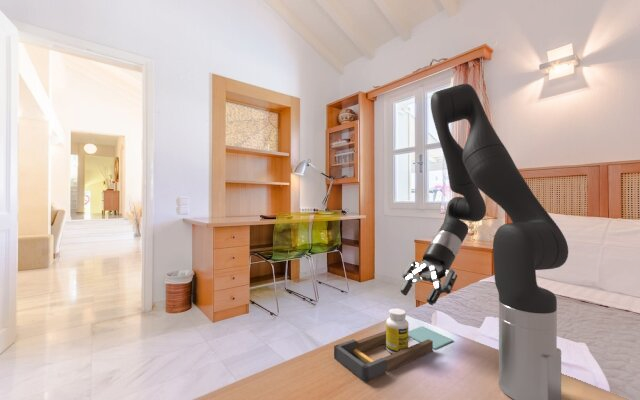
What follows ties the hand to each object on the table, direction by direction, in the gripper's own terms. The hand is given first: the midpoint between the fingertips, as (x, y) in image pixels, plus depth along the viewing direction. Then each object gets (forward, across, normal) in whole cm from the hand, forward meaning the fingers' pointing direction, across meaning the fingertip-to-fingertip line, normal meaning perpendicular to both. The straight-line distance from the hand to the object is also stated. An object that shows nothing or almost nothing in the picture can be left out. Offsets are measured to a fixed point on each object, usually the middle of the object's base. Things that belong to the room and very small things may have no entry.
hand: (415, 298), depth 77 cm
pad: (+5, 0, +12) cm, 13 cm away
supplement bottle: (+13, 0, +3) cm, 14 cm away
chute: (+14, 0, +2) cm, 14 cm away
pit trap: (+22, 0, -6) cm, 23 cm away
